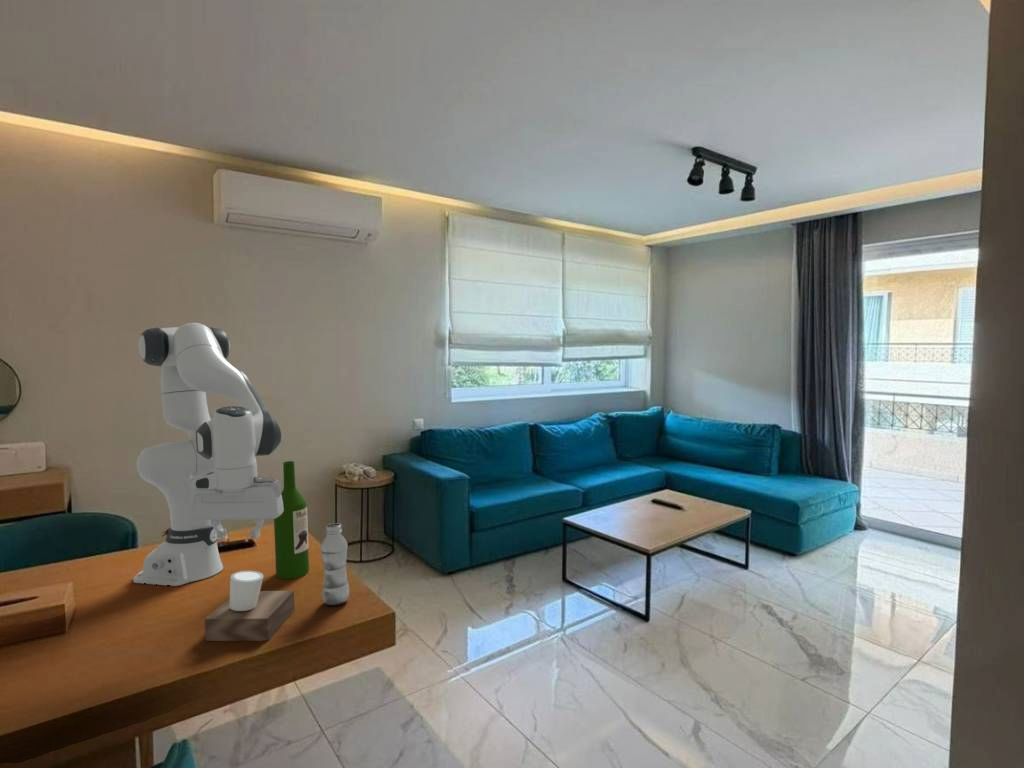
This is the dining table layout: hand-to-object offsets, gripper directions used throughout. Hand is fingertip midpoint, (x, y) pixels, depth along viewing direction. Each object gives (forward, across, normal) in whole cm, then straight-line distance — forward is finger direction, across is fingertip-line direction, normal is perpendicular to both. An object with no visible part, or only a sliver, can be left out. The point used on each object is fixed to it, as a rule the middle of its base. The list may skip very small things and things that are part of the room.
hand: (238, 537), depth 123 cm
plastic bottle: (+22, -18, -12) cm, 30 cm away
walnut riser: (+21, -2, -1) cm, 21 cm away
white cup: (+16, 0, 0) cm, 16 cm away
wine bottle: (+21, +2, -31) cm, 38 cm away
